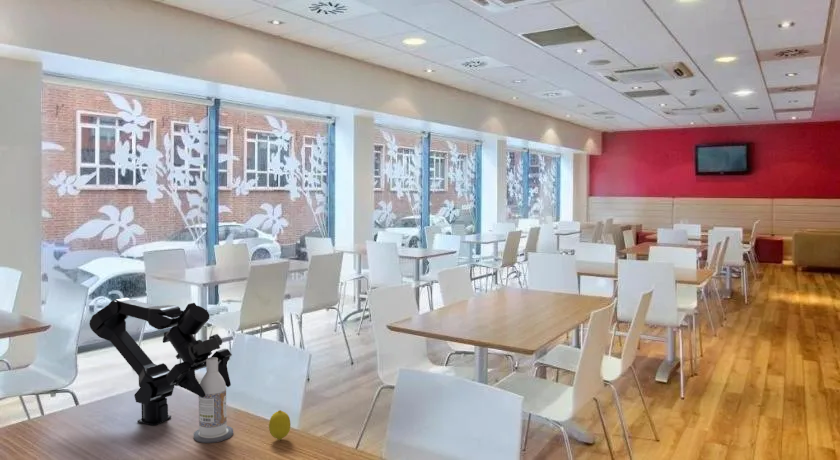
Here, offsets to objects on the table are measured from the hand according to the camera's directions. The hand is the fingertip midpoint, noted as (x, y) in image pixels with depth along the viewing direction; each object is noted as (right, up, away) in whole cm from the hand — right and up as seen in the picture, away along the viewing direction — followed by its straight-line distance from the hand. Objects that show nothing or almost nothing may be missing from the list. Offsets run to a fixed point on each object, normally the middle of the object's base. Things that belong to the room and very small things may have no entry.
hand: (217, 391), depth 160 cm
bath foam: (-2, -11, +1) cm, 12 cm away
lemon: (+17, -13, -1) cm, 21 cm away
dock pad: (-1, -12, +1) cm, 12 cm away
